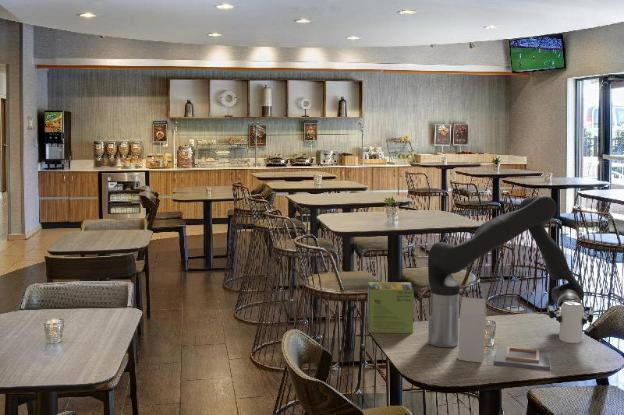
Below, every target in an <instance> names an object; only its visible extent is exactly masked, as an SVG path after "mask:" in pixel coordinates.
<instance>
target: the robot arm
mask: <svg viewBox="0 0 624 415" xmlns="http://www.w3.org/2000/svg"><path fill="white" fill-rule="evenodd" d="M556 213H557V204H556V202H555V200H554V199H553V198H552V197H550V196H548V195H545V194H544V195H543V194H541V195H536V196H531V197H526V198H524V199H523V200H521V202H520V204H519V209H517V210H513V211H510V212H507V213H503V214H501V215H500V214H499V215H498V216H495V217H492V218H491V219H490V220H487V221H485V222H484V223H482V224H480V225H479V226H478V227H477V229H476V230H475V233H474V234H473V236H472V237H471V238H470V239H468V240H466V241H464V242H461V243H459V244H451V243H447V242H443V241H441V242H440V241H439V242H438V241H437V242H435V243H434V244H433V245H432V246H431V247H430V249H429V251H428V258H427V274H428V277H427V278H428V284H429V286H430V302H429V303H430V304H429V316H428V334H427V335H428V336H427V337H428V338H427V339H428V340H427V341H428V342H427V345H431V346H435V347H439V348H454V347H456V346H458V345H459V324H460V284H459V283H458V281H457V280H456V279H455V278H454V277H453V274H454V275H455V274H456V273H460V272H461V271H463V270H464V269H466V268H467V267H468V266H470V265H471V264H472V263H474V262H475V261H476V260H478V259H479V258H481V257H483V256H485V255H486V254H488V253H490V252H492V251H493V250H496V249H497V248H499V247H501V246H503V245H505V244H507V243H508V242H510V241H512V240H514V239H515V238H517V237H518V236H520V235H522V234H523V233H525V232H526V231H527V230H528V232H529V234H530V235H531V237H532V238H533V241H534V242H535V244H536V246H537V248H538V250H539V251H540V254H541V256H542V259H543V261H544V264H545V267H546V269H547V272H548V274H549V277H550V278H551V279H552V280H554V281H559V280H564V281H567V283H564V284H560V285H557V286H554V287H553V288H551V298H552V301H553V302H554V303H555V305H556V308H555V307H554V306H552V305H548V306H547V315H548V317H549V319H554V318H555V320H556V321H557V322H558V323H559V324H560V323H561V306H562V304H563V301H565V300H574V301H579V302H581V303H582V301H583V299H584V297H585V290H584V288H583V286H581V284H580V283H579V281H578V280H577V279H576V278H575V276H574V274H573V273H572V271H571V269H570V266H569V264H568V262H567V258H566V255H565V253H564V252H563V250H562V248H561V247H560V246H559V245H558V244H557V242H556V241H555V240H554V239H553V238H552V236H550V234H549V233H548V231H547V230H546V228H545V226H544V223H546V222H549V221H550V220H551V219H552V218H554V216H555V215H556ZM594 311H595V310H594V309H589V310H587V311H585V309H584V313H583V319H582V325H583V326H585V325H587V324H588V323H593V321H594V313H595V312H594Z"/></svg>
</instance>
